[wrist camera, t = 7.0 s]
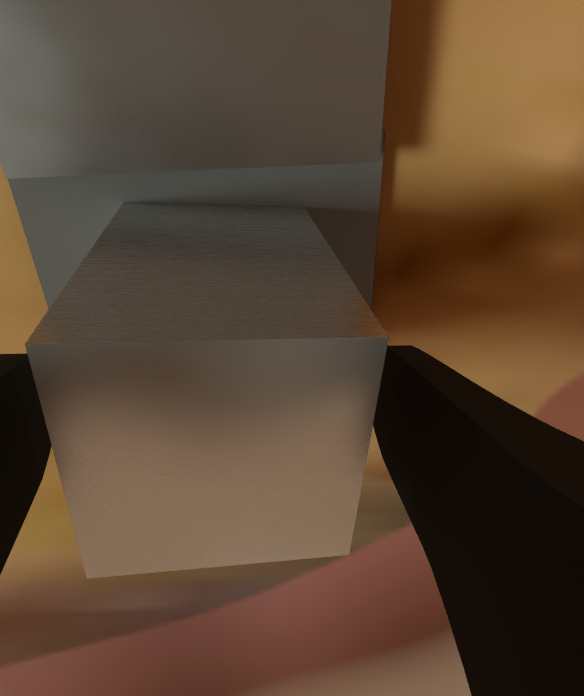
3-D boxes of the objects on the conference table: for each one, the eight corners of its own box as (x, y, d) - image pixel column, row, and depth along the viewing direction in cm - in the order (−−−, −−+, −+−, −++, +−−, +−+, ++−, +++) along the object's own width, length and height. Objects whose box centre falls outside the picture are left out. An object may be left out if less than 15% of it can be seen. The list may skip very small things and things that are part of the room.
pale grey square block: (142, 358, 14) (86, 578, 8) (123, 202, 12) (24, 343, 6) (293, 354, 14) (348, 554, 8) (303, 206, 12) (388, 336, 6)
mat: (95, 436, 16) (92, 446, 15) (6, 142, 11) (-3, 144, 11) (359, 408, 17) (363, 417, 16) (379, 128, 12) (385, 130, 12)
